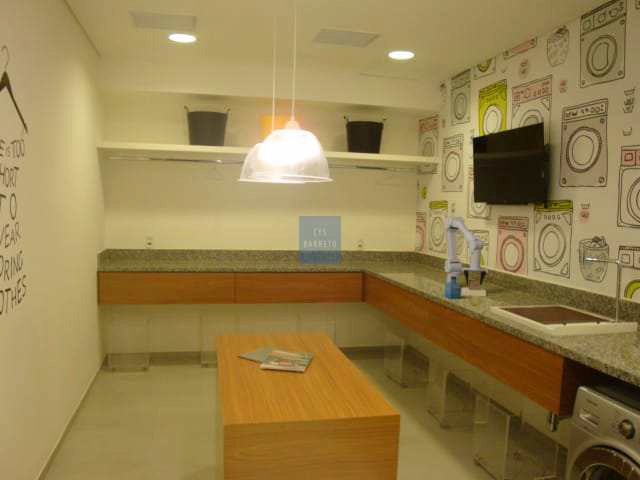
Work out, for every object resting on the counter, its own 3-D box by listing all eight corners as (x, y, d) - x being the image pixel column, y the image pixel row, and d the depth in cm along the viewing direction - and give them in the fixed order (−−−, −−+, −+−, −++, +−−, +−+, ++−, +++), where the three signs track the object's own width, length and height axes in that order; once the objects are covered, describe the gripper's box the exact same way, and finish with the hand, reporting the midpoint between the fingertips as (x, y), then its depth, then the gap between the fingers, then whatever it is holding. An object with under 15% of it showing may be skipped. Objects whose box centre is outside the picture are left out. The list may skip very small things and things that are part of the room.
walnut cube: (468, 288, 307) (469, 279, 306) (477, 288, 306) (478, 280, 306) (469, 289, 302) (470, 281, 301) (478, 290, 301) (479, 281, 301)
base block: (461, 292, 311) (461, 287, 311) (482, 293, 309) (482, 288, 309) (464, 295, 299) (464, 290, 299) (485, 297, 297) (486, 291, 297)
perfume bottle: (450, 299, 284) (451, 277, 283) (444, 297, 290) (445, 275, 289) (460, 299, 286) (461, 277, 285) (454, 296, 292) (455, 275, 291)
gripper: (463, 261, 299) (462, 284, 301) (489, 262, 298) (488, 285, 299) (461, 259, 306) (460, 282, 307) (487, 260, 304) (485, 283, 306)
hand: (474, 284), depth 304 cm, fingers open, 7 cm apart
